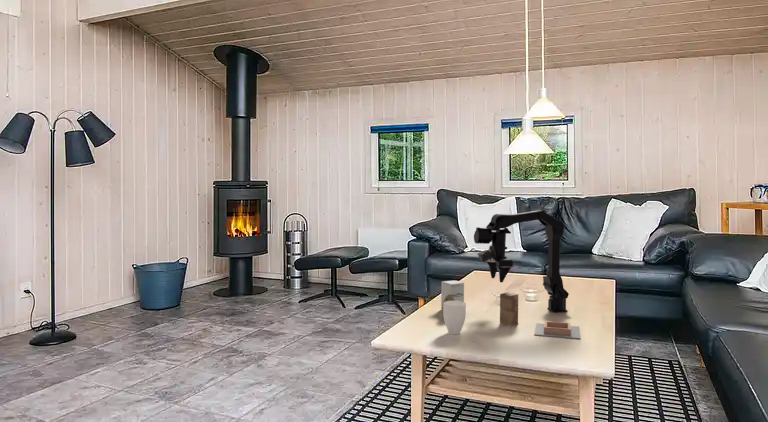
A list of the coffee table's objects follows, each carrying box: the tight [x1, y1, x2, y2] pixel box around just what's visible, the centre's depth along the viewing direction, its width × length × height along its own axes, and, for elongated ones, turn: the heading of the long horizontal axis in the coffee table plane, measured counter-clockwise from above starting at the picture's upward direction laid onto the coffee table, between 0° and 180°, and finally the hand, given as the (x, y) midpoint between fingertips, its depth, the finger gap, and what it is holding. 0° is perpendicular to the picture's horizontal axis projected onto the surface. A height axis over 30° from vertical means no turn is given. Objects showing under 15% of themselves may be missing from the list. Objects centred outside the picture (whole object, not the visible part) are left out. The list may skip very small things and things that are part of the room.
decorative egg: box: [441, 294, 455, 312], centre depth 223 cm, size 6×6×10 cm
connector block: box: [499, 291, 519, 327], centre depth 214 cm, size 5×5×12 cm
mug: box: [442, 301, 467, 335], centre depth 204 cm, size 12×8×11 cm
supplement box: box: [440, 279, 465, 310], centre depth 237 cm, size 7×7×13 cm
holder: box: [533, 320, 581, 340], centre depth 204 cm, size 16×16×2 cm
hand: (497, 280), depth 230 cm, fingers open, 9 cm apart
